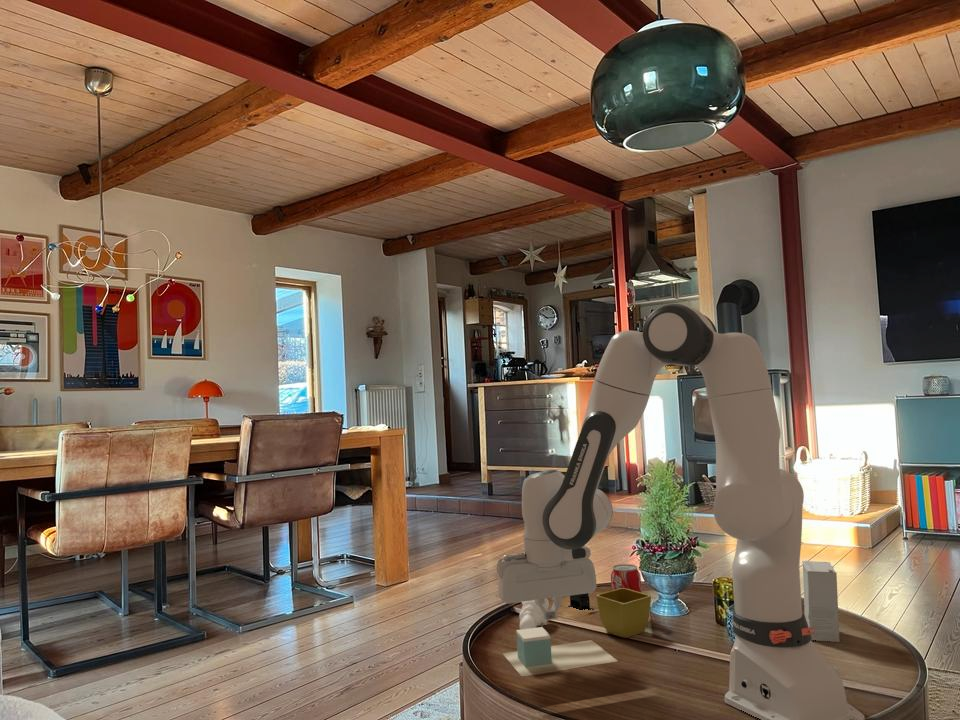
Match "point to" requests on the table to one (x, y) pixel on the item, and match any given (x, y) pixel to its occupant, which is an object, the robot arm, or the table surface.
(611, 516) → the robot arm
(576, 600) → the black upright block
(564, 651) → the birch board
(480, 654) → the table surface
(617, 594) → the flower pot
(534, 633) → the teal block
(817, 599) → the skincare box
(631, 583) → the soda can
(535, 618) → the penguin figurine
